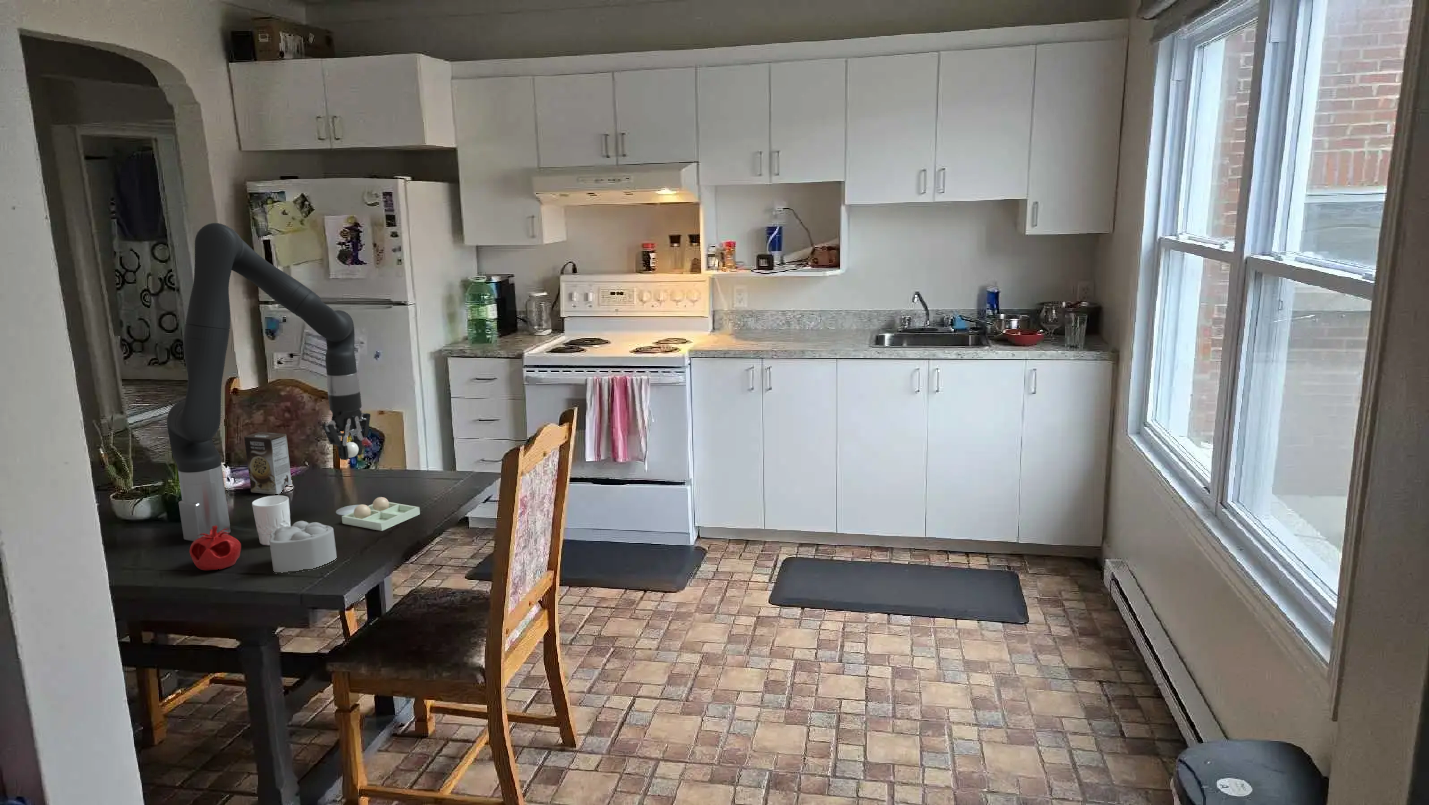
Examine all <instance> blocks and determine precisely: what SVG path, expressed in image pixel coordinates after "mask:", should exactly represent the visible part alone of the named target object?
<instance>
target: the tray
mask: <svg viewBox="0 0 1429 805" xmlns="http://www.w3.org/2000/svg"><path fill="white" fill-rule="evenodd" d="M357 505H358V506H357V507H356V508H355V509H354V512H352V513H349V514H347V515H341V521H342V522H341V524H344V525H348V526H353V527H360V528H365V529H370V530H374V531H375V530H376V531H380V532H381V531H382V532H383V531H385V530H387V529H390V528H391V527H393V526H396V525H399V524H400V523H403V522H405V521H407V520H410V519H412V518H414V517H416V518H415V520H416V519H417V520H418V517H417V516H418V515H420V514H421V510H420V506H415V505H408V504H401V503H396V502H391V501H389V500H388V499H387V498H386V497H382V496H378V497H376V498H375V499H374V500H373V501H372V504H369V505H366V504H357ZM408 522H409V521H408ZM408 522H406V523H408ZM398 527H400V525H399V526H397V528H398Z"/></svg>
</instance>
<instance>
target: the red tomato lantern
mask: <svg viewBox="0 0 1429 805" xmlns="http://www.w3.org/2000/svg"><path fill="white" fill-rule="evenodd" d="M212 529H213V530H212ZM212 529H210V530H209V531H210V535H209V534H205V533H202V534H199V535H205V536H203V537H201V538H198V539H196V540H195V541H192V542H191V545H190V547H189V554H190V558H191V559H192V562H193V563H194V565H195V566H196V568H197V569H199V570H201V571H217V570H218V569H219V570H224V569H227V568H230V567H232V566H234V565H235V564H236V563H237V560H238V559H239V558H240V556H241V551H242V543H241V542H240V541H239V540H238V539H237V538H236V537H234V536H232V535H230V533H231V532H229V533H228V532H222V531H224V530H227V529H223V530H222V531H220V532H218V533H217V525H216V526H212ZM221 532H222V533H221ZM227 534H228V535H227ZM199 535H198V536H199Z"/></svg>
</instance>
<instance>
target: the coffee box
mask: <svg viewBox="0 0 1429 805" xmlns="http://www.w3.org/2000/svg"><path fill="white" fill-rule="evenodd" d="M243 439H244V446H245V453H246V455H245V456H246V460H247V461H246V463H247V470H248V471H247V472H248V477H249V485H250V492H251V493H255V494H256V493H257V494H264V495H265V494H267V495H275V494H278V495H280V494H282V493H283V492H282V490H283V489H284V488H285V486H286V485H292V486H293V483H292V475H291V466H290V457H289V448H288V438H287V433H279V432H267V431H258V432H255V433H251V434H249V435H245V436H244V437H243ZM281 492H282V493H281Z"/></svg>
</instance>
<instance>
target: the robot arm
mask: <svg viewBox="0 0 1429 805" xmlns="http://www.w3.org/2000/svg"><path fill="white" fill-rule="evenodd" d="M193 268H194V269H193V271H194V273H193V276H194V277H193V284H192V289H191V291H190V296H189V301H188V306H187V307H188V308H187V313H186V318H185V324H184V330H183V331H184V333H183V339H182V340H183V341H182V342H183V343H182V347H183V357H184V362H185V367H186V368H185V369H186V373H187V389H186V394H185V399H184V400H180V401H178V402H176V403H175V404H174V405H172V407H171V408H170V409H169V411H168V413H167V417H166V427H167V433H168V438H169V444H170V448H171V454H172V457H173V459H174V461H175V464H176V466H177V472H178V473H177V474H178V480H179V489H180V494H181V500H180V501H178V507H179V515H180V521H181V522H180V523H181V527H182V528H181V529H182V534H183V539H184V540H186V541H190V542H194V541H195V540H196V539H198V538H201V537H203V536H205V535H199V534H202V533H205V534H209V535H210V531H209V530H210V529H212V526H216V525H217V533H218V532H220V531H222V530H223V529H227V530H224V531H222V532H228V533H229V532H230V533H231V524H230V517H229V509H228V508H229V507H228V503H227V495H226V488H225V482H224V481H225V480H224V474H223V466H222V460H221V459H222V458H221V454H220V452H219V451H218V449H217V447H216V446H215V444H214V440H213V438H214V437H215V436H216V435H217V433H218V431H219V429H220V425H221V420H222V419H221V418H222V415H221V413H222V385H223V377H224V372H225V366H226V364H225V363H226V358H227V357H226V356H227V351H228V346H229V338H230V329H231V305H230V304H231V303H230V292H229V291H230V288H229V287H230V278H231V274H232V271H233V272H235V273H236V274H239V275H240V276H242V277H243V278H245V279H247V280H248V281H250V282H251V283H253V284H254V285H255V286H256V287H258V288H259V289H260V290H261V291H263V293H265V294H266V295H267V296H268V297H270V298H271V299H272V300H274V301H275V302H276V303H278V304H279V305H281V307H283V308H285V309H286V310H288V311H289V312H290V313H292V314H293V315H295V316H296V317H299V318H300V319H301V320H302V321H303V322H305V323H306V325H308V326H309V327H310V328H311V329H312V330H313V331H315V333H317V334H318V335H320V337H322V338H324V339H325V340H326V352H325V358H324V359H325V361H324V362H325V372H326V389H327V396H328V407H329V411H330V412H331V414H332V416H331V420H330V421H329V422H328V423H323V424H322V428H323V429H324V430H323V431H324V433H325V435H326V437H327V440H328V442H329V444H330V445H336V447H337V454H338V458H339V459H340V460H341V461H347V460H349V457H348V449H347V445H346V444H347V442H348V437H349V436H351V439H352V440H351V442H354V443H356V444H357V446H358V448H359V451H358V454H357V455H356V456H361V455H363V442H362V441H363V439H364V438H365V437H368V436H369V428H370V421H371V413H370V412H369V413H367V412H362V410H361V408H362V406H363V405H362V398H361V397H362V396H361V388H360V387H361V386H360V379H359V376H358V370H357V360H356V355H355V344H356V343H355V342H356V341H355V339H356V338H355V336H356V335H355V323H354V320H353V318H352V316H351V315H350V314H349V313H348V312H346V311H344V310H341V309H336V310H335V309H333V308H332V307H330V306H329V305H328V304H326V303H324V302H323V301H322V299H321V297H320V296H319V295H318V294H317V293H316V292H314V291H313V290H312V289H311V288H309V287H307V286H306V285H304V284H303V283H301V282H300V281H299V280H297V279H295V278H294V277H292V276H291V275H289V274H288V273H287V272H284V271H283V270H281V269H280V268H278V267H276V266H275V265H273V264H272V263H270V262H269V261H267V259H265V258H263V257H262V256H261V255H260V254H259V253H258V252H256V251H255V250H254V249H253V248H252V247H251V246H250V245H249V244H247V242H246V241H244V240H243V238H241V236H240V235H239V234H238V232H237V231H235V229H233V228H231V227H230V226H227V225H225V224H224V223H223V224H222V223H220V222H219V223H217V222H212V223H208V224H205V225H204V226H202V227H201V228H200V229H199V230H198V231H197V233H196V235H195V239H194V267H193ZM212 530H213V529H212ZM222 532H221V533H222ZM230 533H229V534H230ZM229 534H227V535H229ZM198 535H199V536H198Z"/></svg>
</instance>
